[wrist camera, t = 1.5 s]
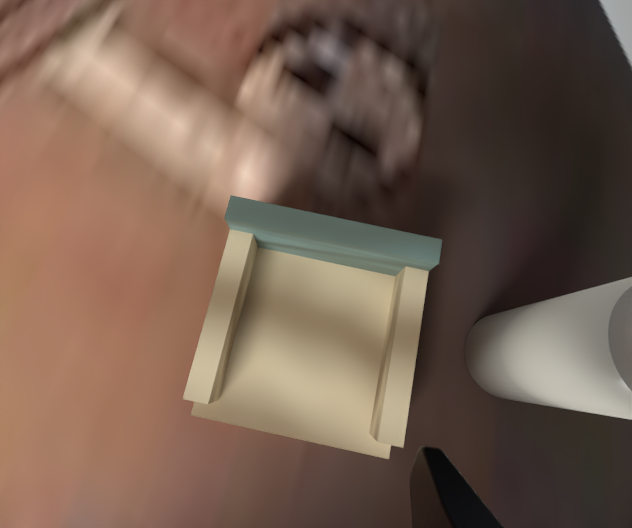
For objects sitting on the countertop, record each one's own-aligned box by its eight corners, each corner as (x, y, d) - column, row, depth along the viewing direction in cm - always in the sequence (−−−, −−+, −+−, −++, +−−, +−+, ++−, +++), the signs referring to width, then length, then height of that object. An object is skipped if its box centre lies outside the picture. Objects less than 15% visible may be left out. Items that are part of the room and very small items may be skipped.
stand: (384, 454, 22) (408, 481, 17) (196, 412, 22) (164, 426, 17) (413, 265, 24) (442, 239, 19) (245, 230, 24) (230, 195, 19)
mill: (560, 383, 23) (878, 404, 10) (484, 411, 22) (719, 469, 10) (524, 303, 24) (772, 233, 11) (451, 328, 23) (624, 284, 11)
